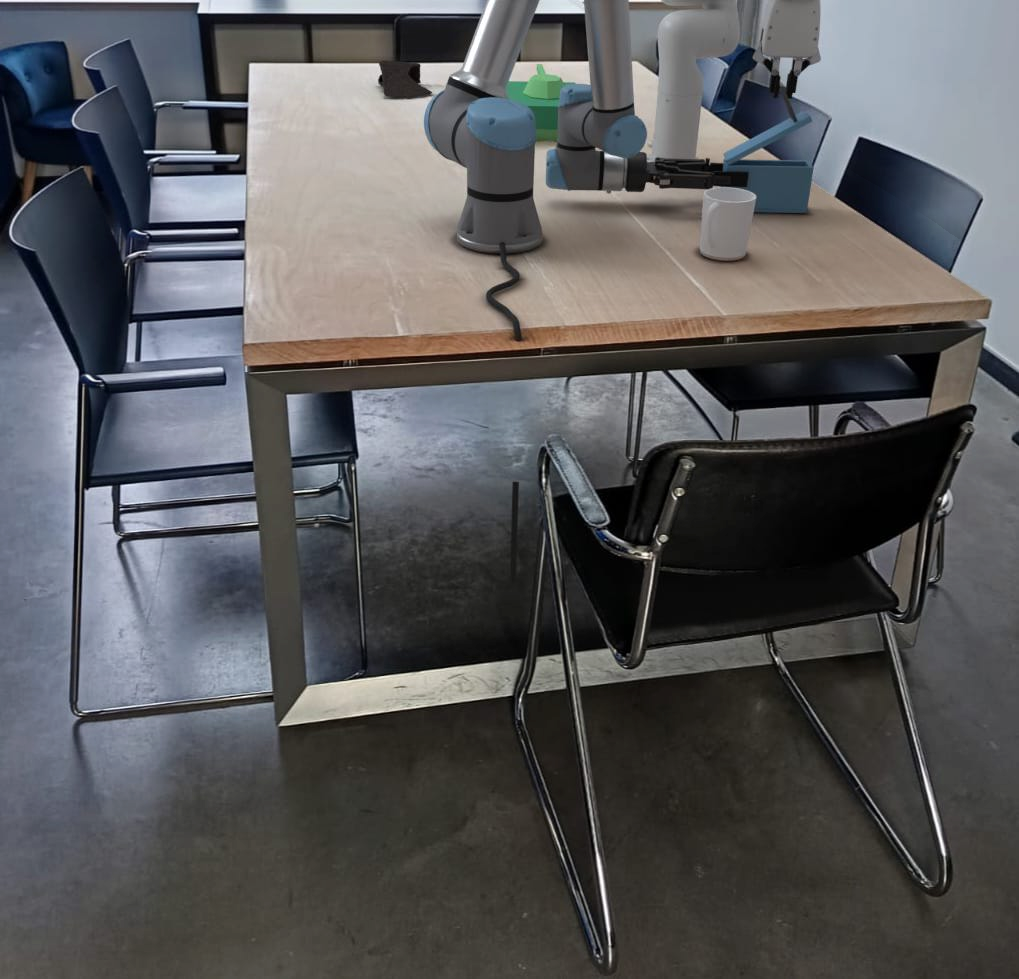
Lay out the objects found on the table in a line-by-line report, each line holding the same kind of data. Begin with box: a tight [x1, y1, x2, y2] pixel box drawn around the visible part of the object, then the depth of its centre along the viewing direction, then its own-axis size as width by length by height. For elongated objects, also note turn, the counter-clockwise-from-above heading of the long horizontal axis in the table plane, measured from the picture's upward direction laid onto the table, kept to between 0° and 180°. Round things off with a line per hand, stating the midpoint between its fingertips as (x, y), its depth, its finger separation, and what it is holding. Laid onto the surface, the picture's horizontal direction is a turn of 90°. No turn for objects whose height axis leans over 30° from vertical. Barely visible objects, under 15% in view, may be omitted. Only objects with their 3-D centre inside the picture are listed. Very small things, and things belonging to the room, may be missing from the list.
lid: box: [722, 81, 813, 165], centre depth 206 cm, size 17×5×8 cm
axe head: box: [377, 59, 433, 99], centre depth 299 cm, size 18×8×15 cm
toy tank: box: [506, 63, 577, 142], centre depth 266 cm, size 18×12×35 cm
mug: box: [699, 186, 756, 262], centre depth 189 cm, size 11×9×10 cm
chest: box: [720, 158, 814, 214], centre depth 213 cm, size 16×5×9 cm, turn 88°
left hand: (744, 175), depth 212 cm, fingers closed on chest, 5 cm apart
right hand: (781, 96), depth 204 cm, fingers closed, pressing on lid
